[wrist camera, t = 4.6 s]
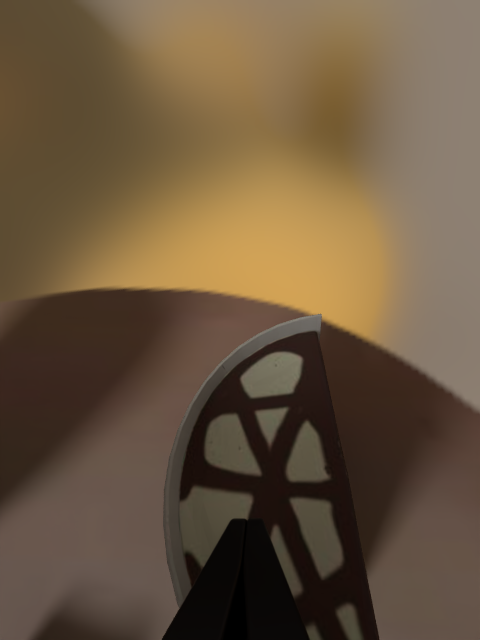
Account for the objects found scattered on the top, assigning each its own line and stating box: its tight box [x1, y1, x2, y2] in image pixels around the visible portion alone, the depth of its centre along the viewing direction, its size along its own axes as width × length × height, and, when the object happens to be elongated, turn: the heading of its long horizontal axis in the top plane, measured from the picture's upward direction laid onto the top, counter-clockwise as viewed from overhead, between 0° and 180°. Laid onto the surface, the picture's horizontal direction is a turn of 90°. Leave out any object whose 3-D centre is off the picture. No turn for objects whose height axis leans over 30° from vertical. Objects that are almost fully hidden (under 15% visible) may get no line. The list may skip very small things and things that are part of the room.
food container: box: [163, 314, 379, 640], centre depth 13 cm, size 12×6×10 cm, turn 2°
